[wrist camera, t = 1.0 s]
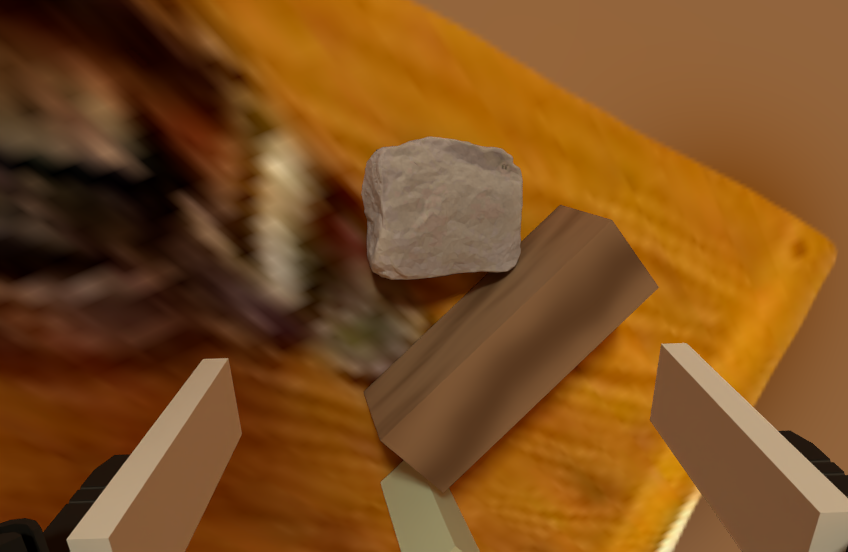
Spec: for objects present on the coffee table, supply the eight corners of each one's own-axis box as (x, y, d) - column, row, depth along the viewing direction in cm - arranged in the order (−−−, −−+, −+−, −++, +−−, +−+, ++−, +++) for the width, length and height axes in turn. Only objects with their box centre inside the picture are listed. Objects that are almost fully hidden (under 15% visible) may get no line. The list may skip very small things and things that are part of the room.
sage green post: (380, 482, 45) (411, 587, 35) (413, 450, 45) (455, 546, 35) (410, 505, 47) (448, 612, 37) (442, 474, 47) (490, 573, 37)
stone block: (354, 146, 39) (364, 280, 40) (366, 134, 34) (377, 285, 35) (499, 144, 42) (506, 267, 43) (529, 132, 38) (535, 270, 39)
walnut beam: (363, 391, 42) (380, 440, 36) (560, 205, 42) (612, 220, 36) (418, 439, 45) (443, 492, 39) (603, 263, 45) (658, 287, 39)
